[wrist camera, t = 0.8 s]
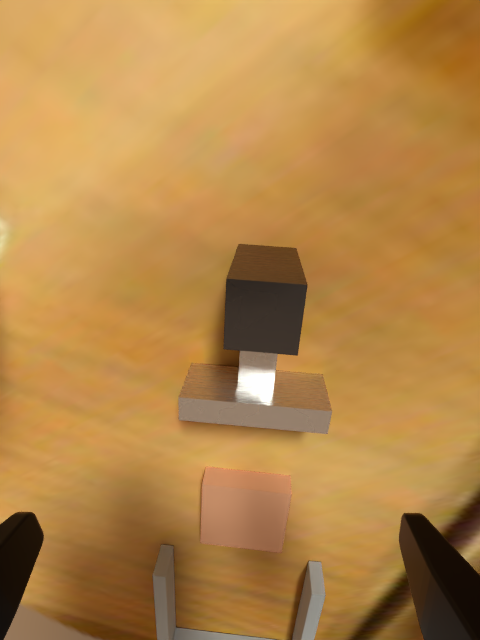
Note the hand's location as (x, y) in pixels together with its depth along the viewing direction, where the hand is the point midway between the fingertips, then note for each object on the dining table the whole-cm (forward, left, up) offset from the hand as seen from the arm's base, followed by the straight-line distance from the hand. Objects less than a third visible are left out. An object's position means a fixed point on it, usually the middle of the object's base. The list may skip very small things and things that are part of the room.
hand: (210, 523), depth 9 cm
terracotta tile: (-1, +15, -13) cm, 20 cm away
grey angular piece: (-1, +1, -13) cm, 13 cm away
